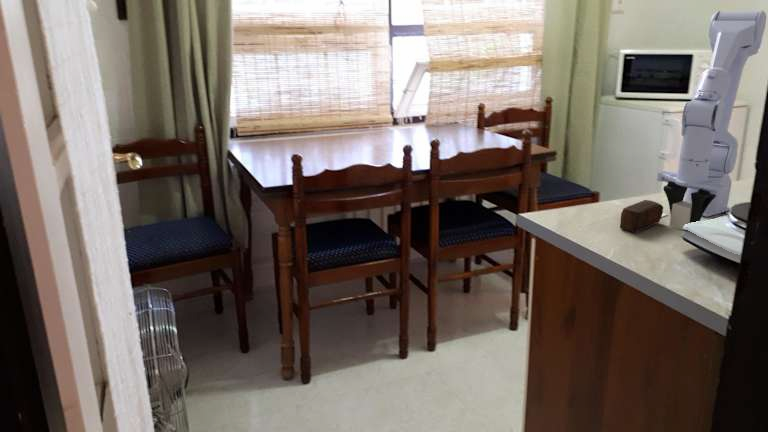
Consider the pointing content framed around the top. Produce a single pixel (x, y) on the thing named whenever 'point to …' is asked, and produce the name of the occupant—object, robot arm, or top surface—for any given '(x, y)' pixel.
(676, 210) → the cream block
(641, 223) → the brick
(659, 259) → the top surface
